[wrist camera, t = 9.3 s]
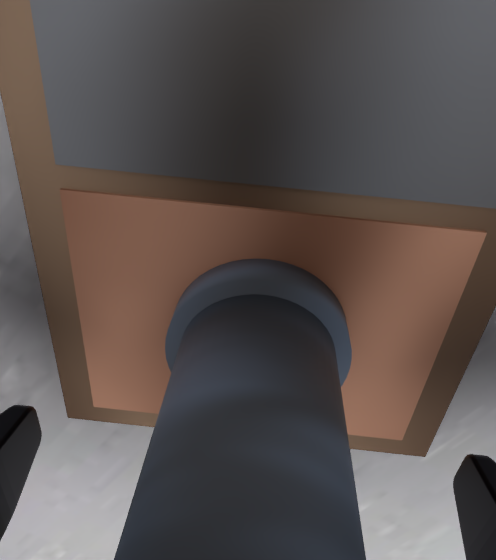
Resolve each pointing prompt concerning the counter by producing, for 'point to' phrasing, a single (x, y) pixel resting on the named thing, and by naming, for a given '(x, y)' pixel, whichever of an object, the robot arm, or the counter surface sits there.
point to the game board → (259, 183)
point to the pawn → (250, 425)
